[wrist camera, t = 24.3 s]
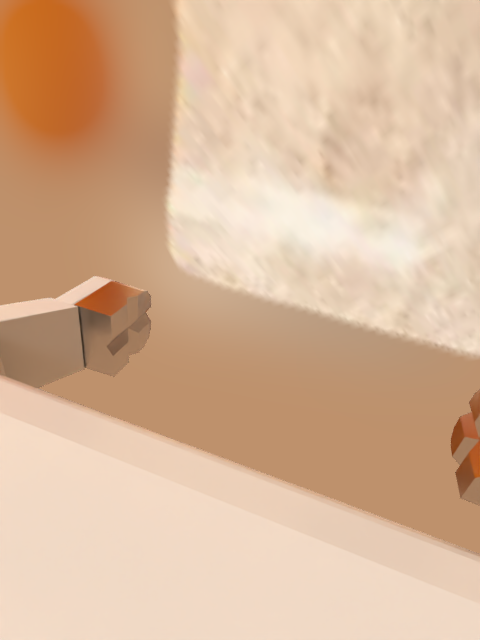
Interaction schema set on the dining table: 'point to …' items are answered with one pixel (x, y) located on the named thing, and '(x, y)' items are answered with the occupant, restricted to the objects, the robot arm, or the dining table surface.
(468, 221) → the dining table surface
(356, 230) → the dining table surface
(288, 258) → the dining table surface
